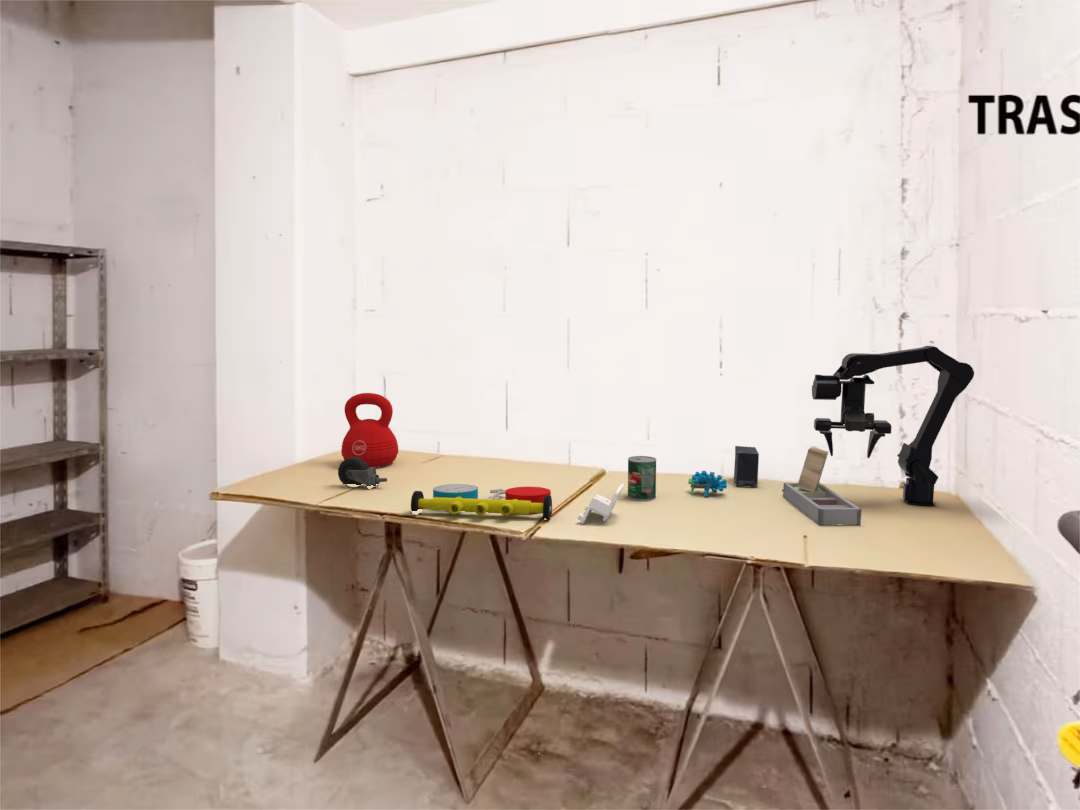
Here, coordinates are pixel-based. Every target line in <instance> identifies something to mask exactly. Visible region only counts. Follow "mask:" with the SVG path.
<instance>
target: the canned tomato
mask: <svg viewBox="0 0 1080 810" xmlns="http://www.w3.org/2000/svg"><path fill="white" fill-rule="evenodd" d="M656 494H657V458H656V457H653V456H646V455H635V456H633V455H632V456H629V457H628V458H627V498H628V499H630V500H633V501H640V502H643V501H644V502H645V501H646V502H647V501H652V500H655V499H657V498H656V497H657V495H656Z"/></svg>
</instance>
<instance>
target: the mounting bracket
mask: <svg viewBox="0 0 1080 810" xmlns="http://www.w3.org/2000/svg"><path fill="white" fill-rule="evenodd" d="M624 487H625V484H624V483H620V485H619V486H618V488H617V489H616V491H615V493H614V494H613V496H612V499H611V500H609V499H608V498H606V497H604V496H602V495H601V494H598V493H597V494H595V496H593V497H592V498H591V500H590V502H589V503H588V504H586V506H585V508H584V511H585V512H584V514H583V513H581V512H580V513H579V515H578V516H577V520H579V521H580V524H582V525H583V524H584V523H585V522H586V520H587V519H588V518H589V516H590V515H591V513H592V512H594V513H596V514H598V515H600V516H602V519H601V520H602V522H604V523H606V522H607V520H608V518H609V516H610V515H611V513H612V511H613V509H614V508H615V506H616V503H617V501H618V500H619V497H620V495H621V493H622V490H623V489H624Z"/></svg>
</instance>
